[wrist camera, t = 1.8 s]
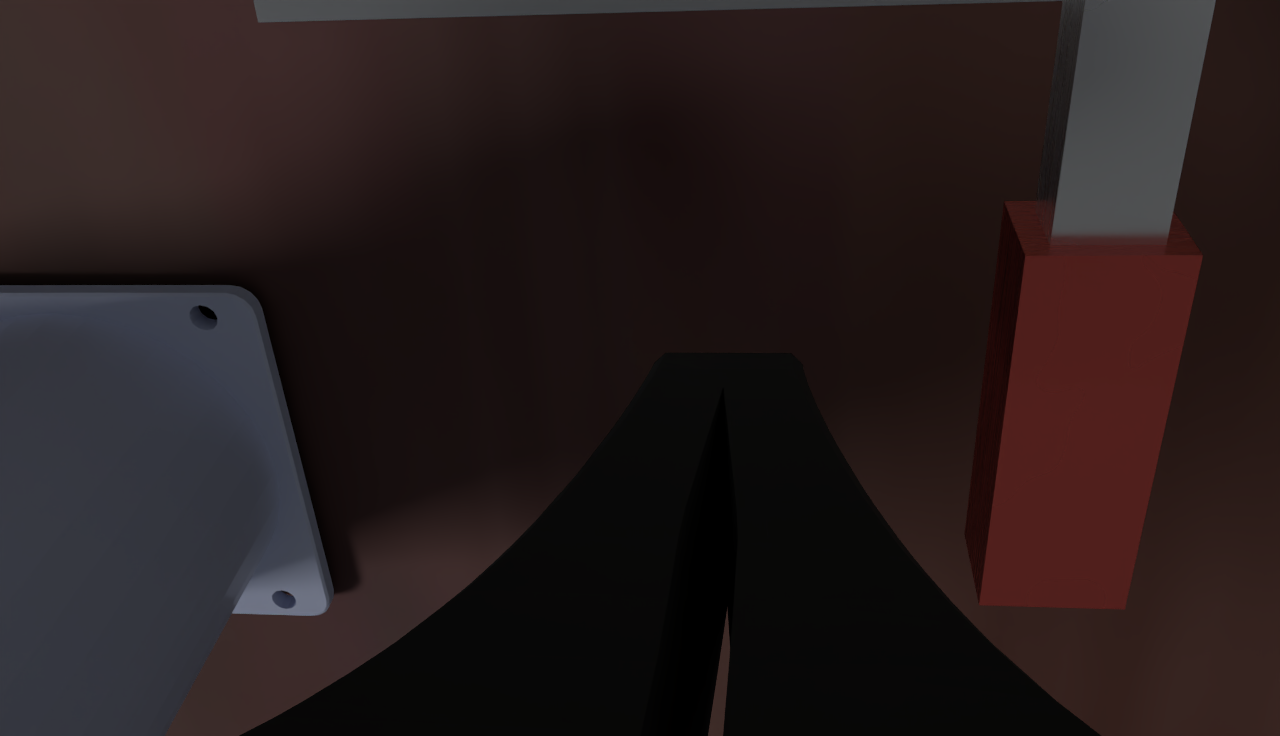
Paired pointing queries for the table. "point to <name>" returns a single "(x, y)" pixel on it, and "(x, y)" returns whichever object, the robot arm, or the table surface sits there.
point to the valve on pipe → (533, 7)
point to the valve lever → (1088, 313)
